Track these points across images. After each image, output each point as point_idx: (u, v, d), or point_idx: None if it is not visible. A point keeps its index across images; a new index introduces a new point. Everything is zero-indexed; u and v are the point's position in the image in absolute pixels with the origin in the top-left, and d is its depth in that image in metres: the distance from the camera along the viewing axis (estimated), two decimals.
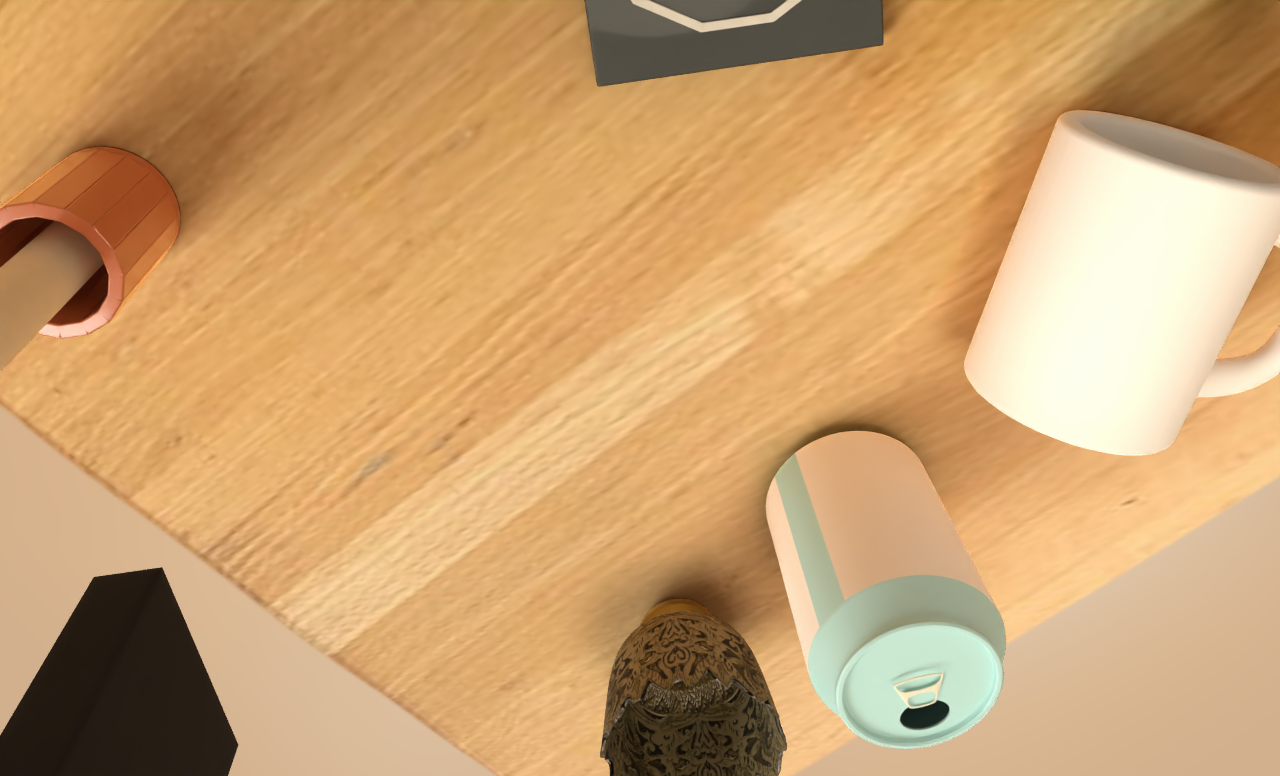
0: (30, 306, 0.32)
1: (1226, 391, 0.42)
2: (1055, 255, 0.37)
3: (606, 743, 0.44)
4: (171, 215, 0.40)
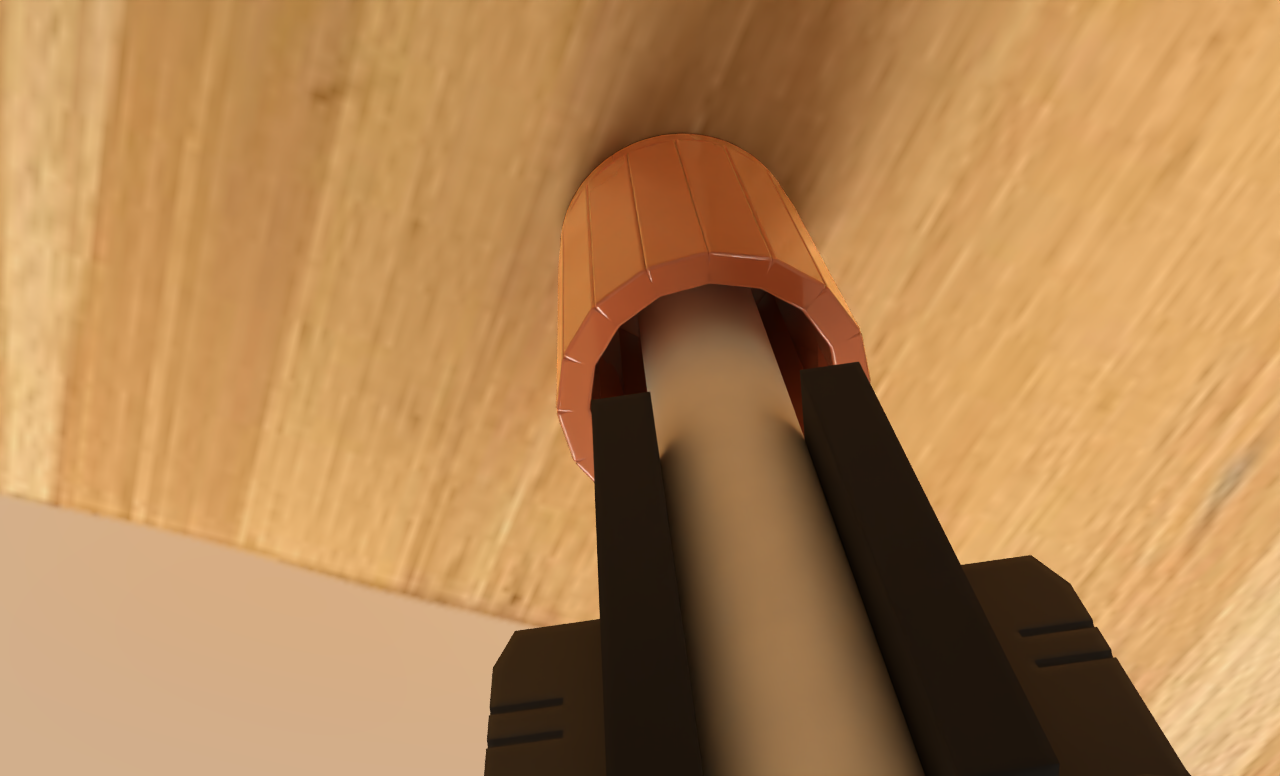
0: (807, 478, 0.13)
1: None
2: None
3: None
4: (792, 205, 0.20)
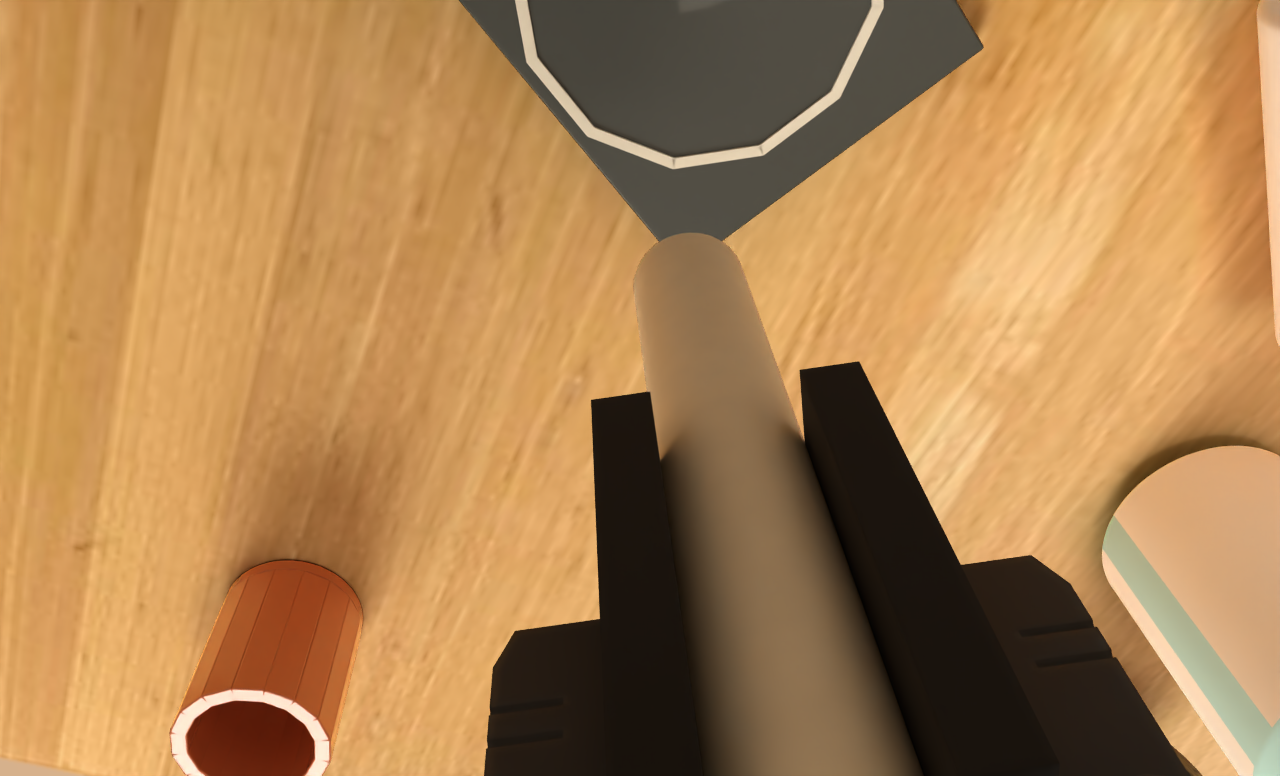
0: (807, 482, 0.13)
1: None
2: None
3: None
4: (343, 602, 0.37)
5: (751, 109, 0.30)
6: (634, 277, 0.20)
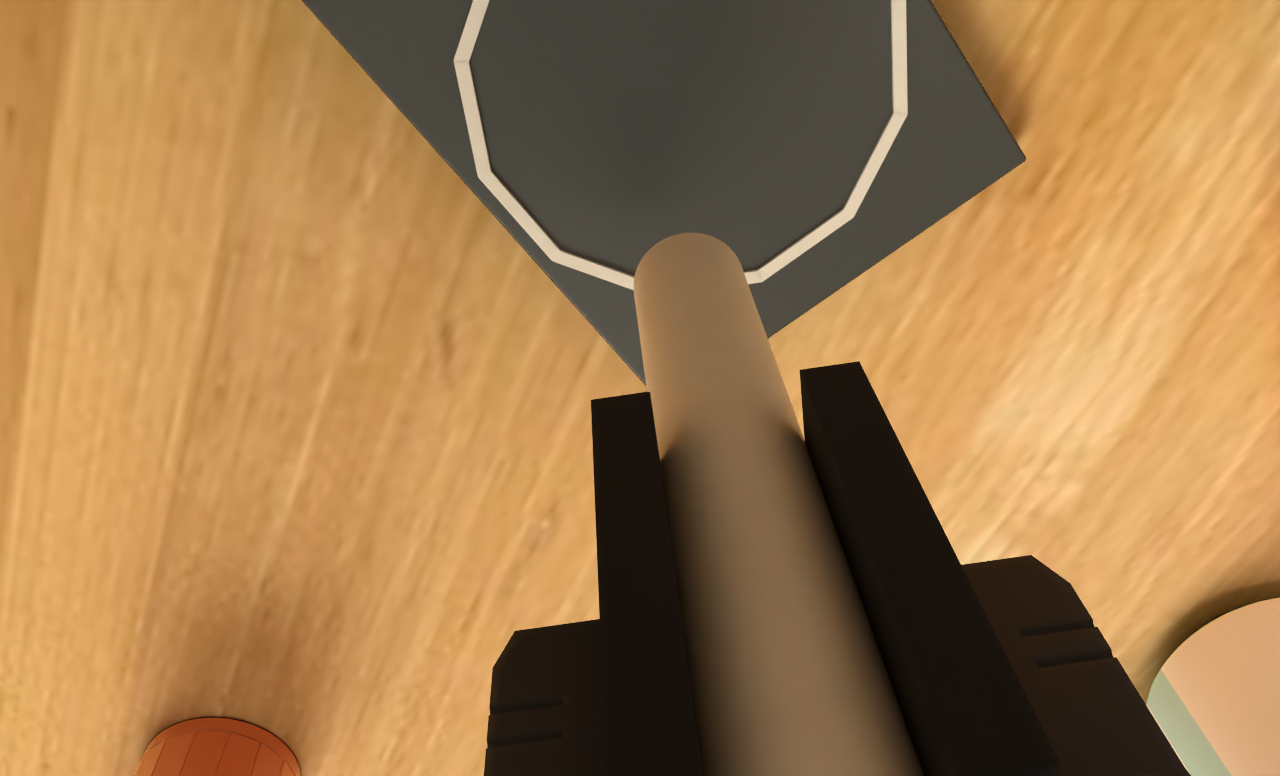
0: (807, 482, 0.13)
1: None
2: None
3: None
4: (276, 767, 0.32)
5: (748, 229, 0.25)
6: (634, 277, 0.20)
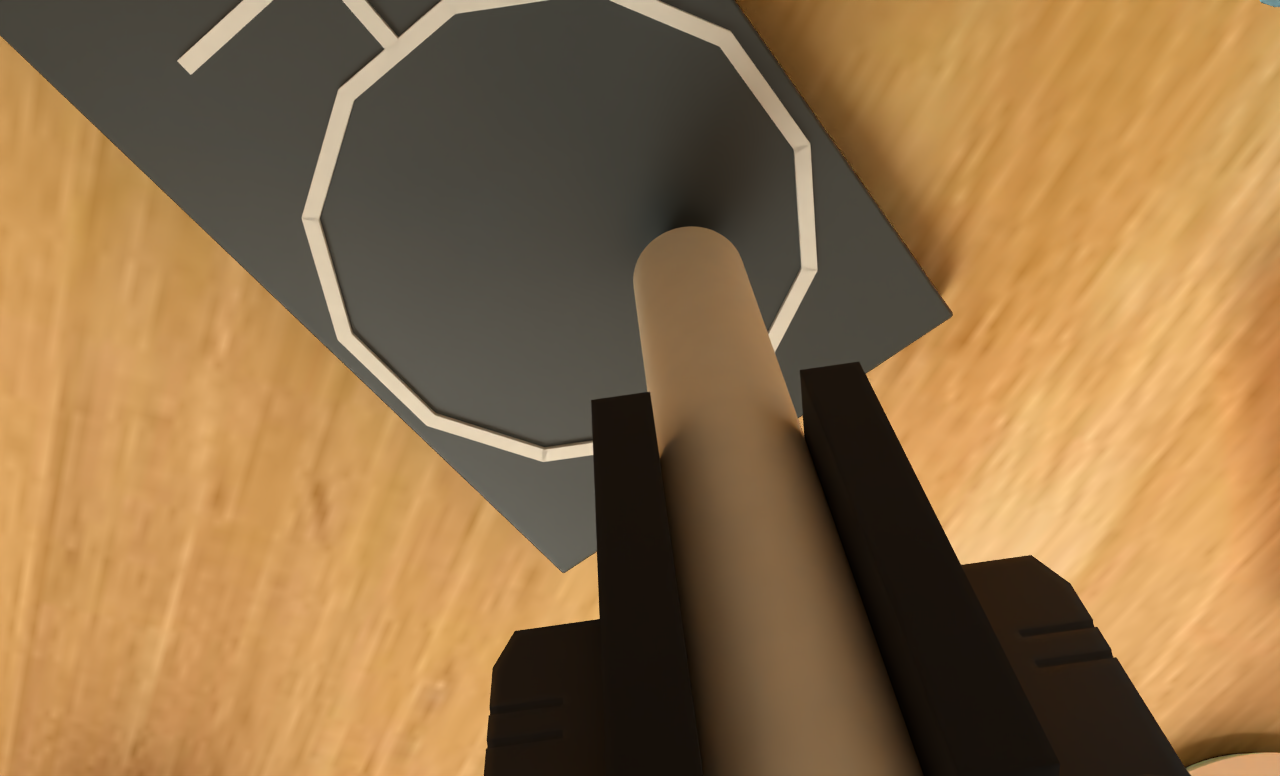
0: (808, 483, 0.13)
1: None
2: None
3: None
4: None
5: (644, 390, 0.22)
6: (634, 271, 0.20)
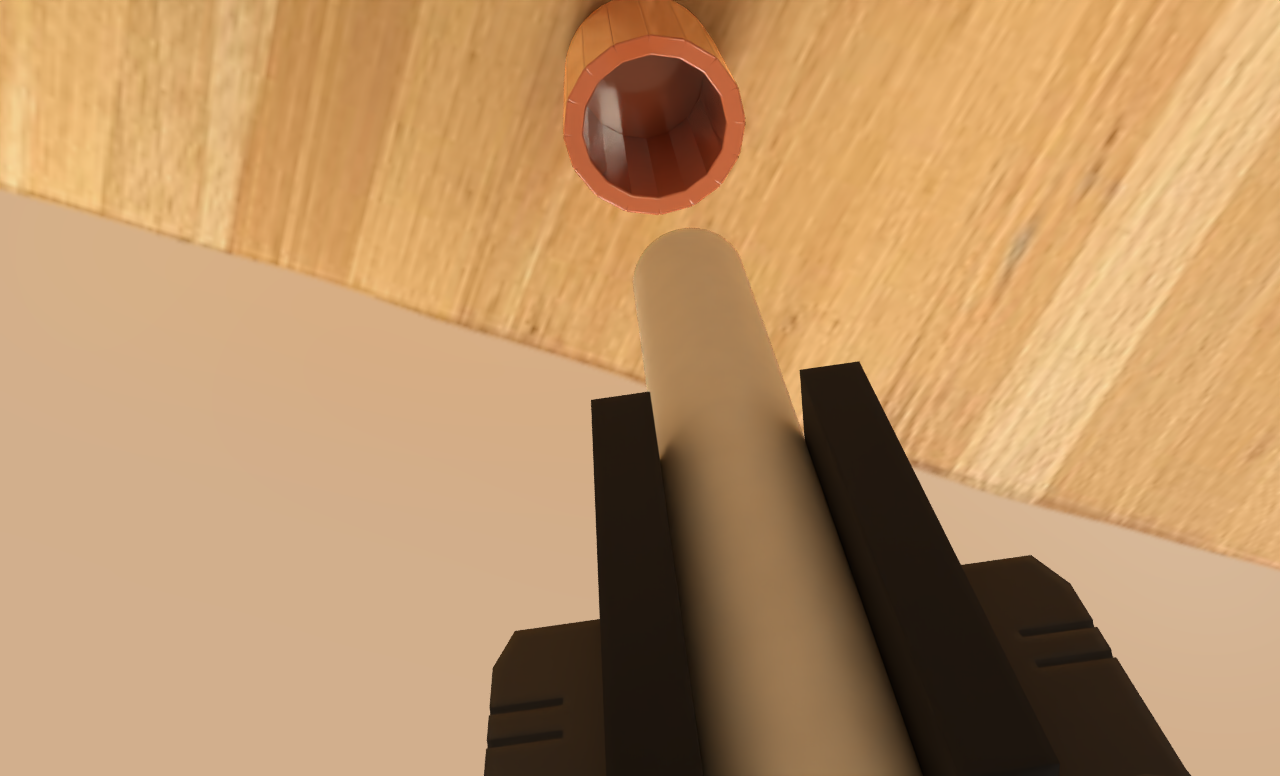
0: (809, 485, 0.13)
1: None
2: None
3: None
4: (711, 39, 0.32)
5: None
6: (634, 273, 0.20)
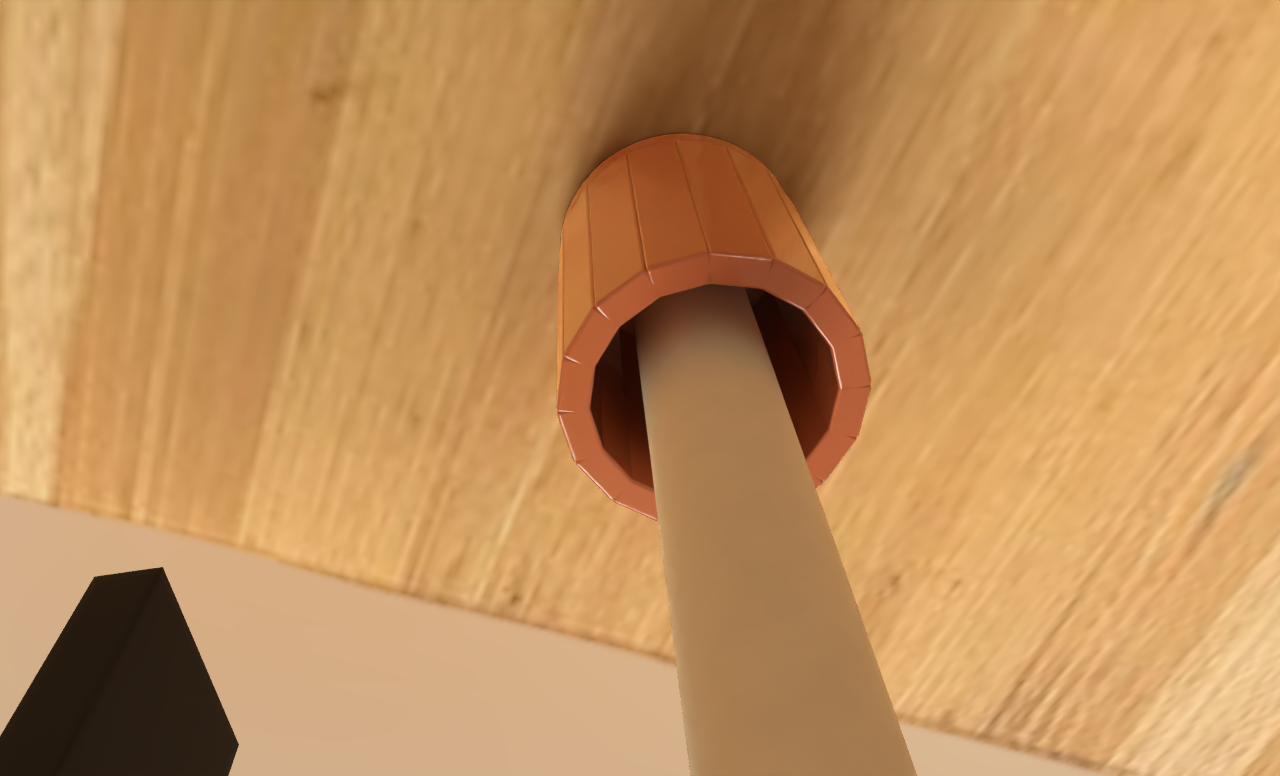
0: (800, 479, 0.13)
1: None
2: None
3: None
4: (792, 205, 0.20)
5: None
6: None
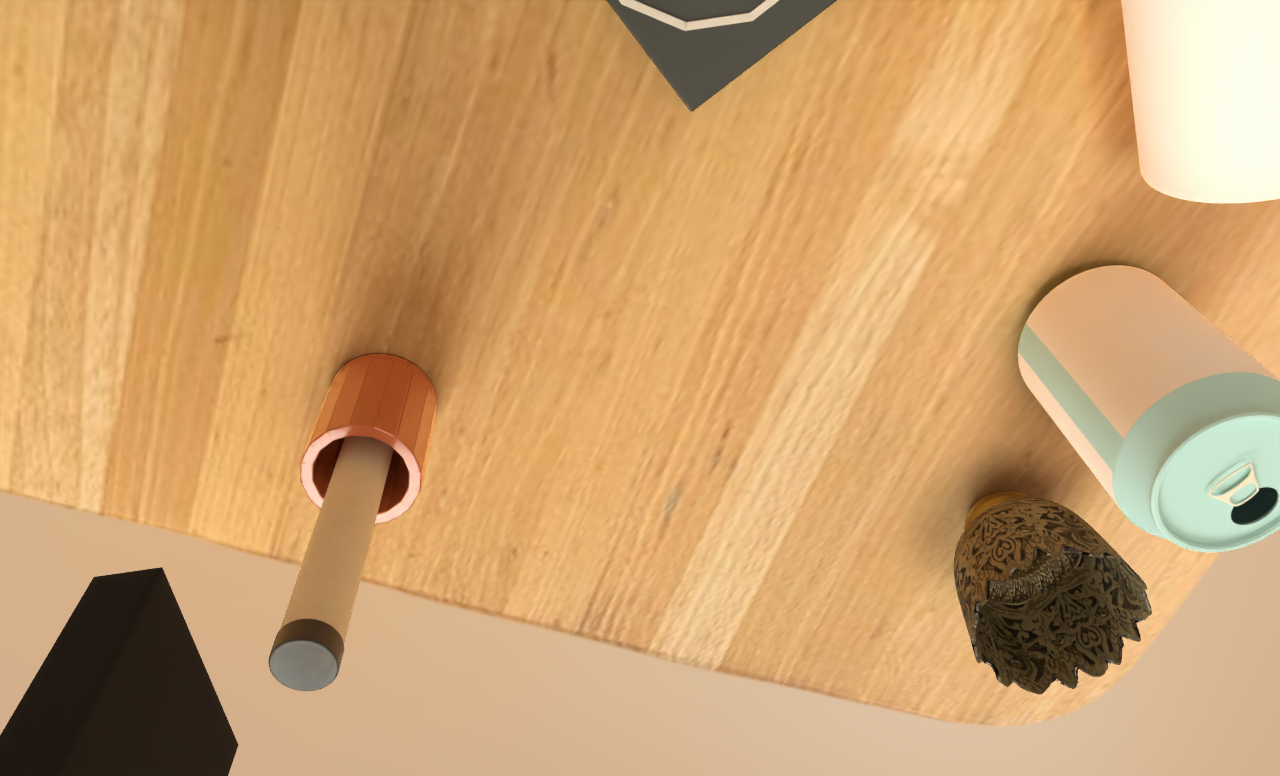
0: (360, 509, 0.40)
1: None
2: (1169, 40, 0.37)
3: (977, 649, 0.47)
4: (424, 385, 0.47)
5: None
6: None
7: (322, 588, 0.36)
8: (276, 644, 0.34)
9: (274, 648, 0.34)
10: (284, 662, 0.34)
